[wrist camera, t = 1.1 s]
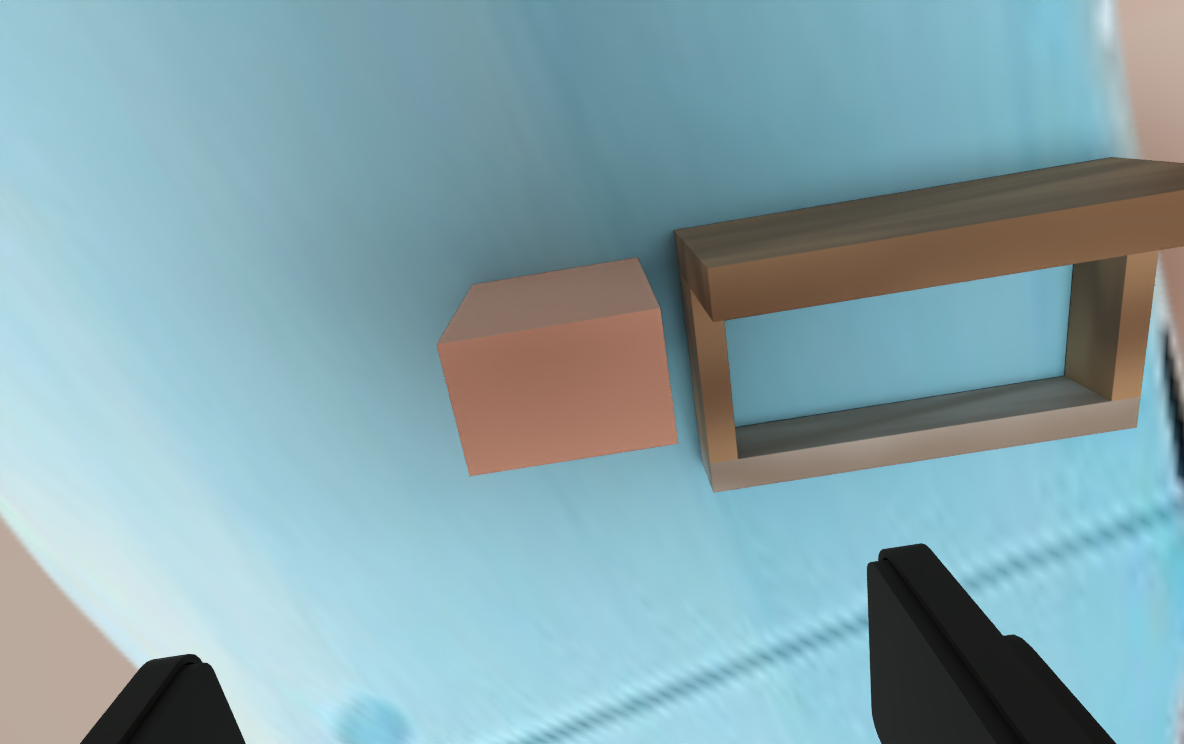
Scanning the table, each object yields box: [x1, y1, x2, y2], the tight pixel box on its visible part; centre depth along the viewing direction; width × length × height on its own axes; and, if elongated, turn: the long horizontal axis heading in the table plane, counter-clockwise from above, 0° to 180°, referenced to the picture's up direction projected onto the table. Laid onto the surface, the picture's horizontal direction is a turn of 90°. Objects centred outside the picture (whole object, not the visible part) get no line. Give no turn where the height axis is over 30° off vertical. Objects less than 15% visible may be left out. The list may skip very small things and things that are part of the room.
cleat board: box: [674, 157, 1184, 492], centre depth 23 cm, size 9×15×6 cm, turn 99°
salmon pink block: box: [437, 257, 678, 476], centre depth 22 cm, size 5×6×7 cm
